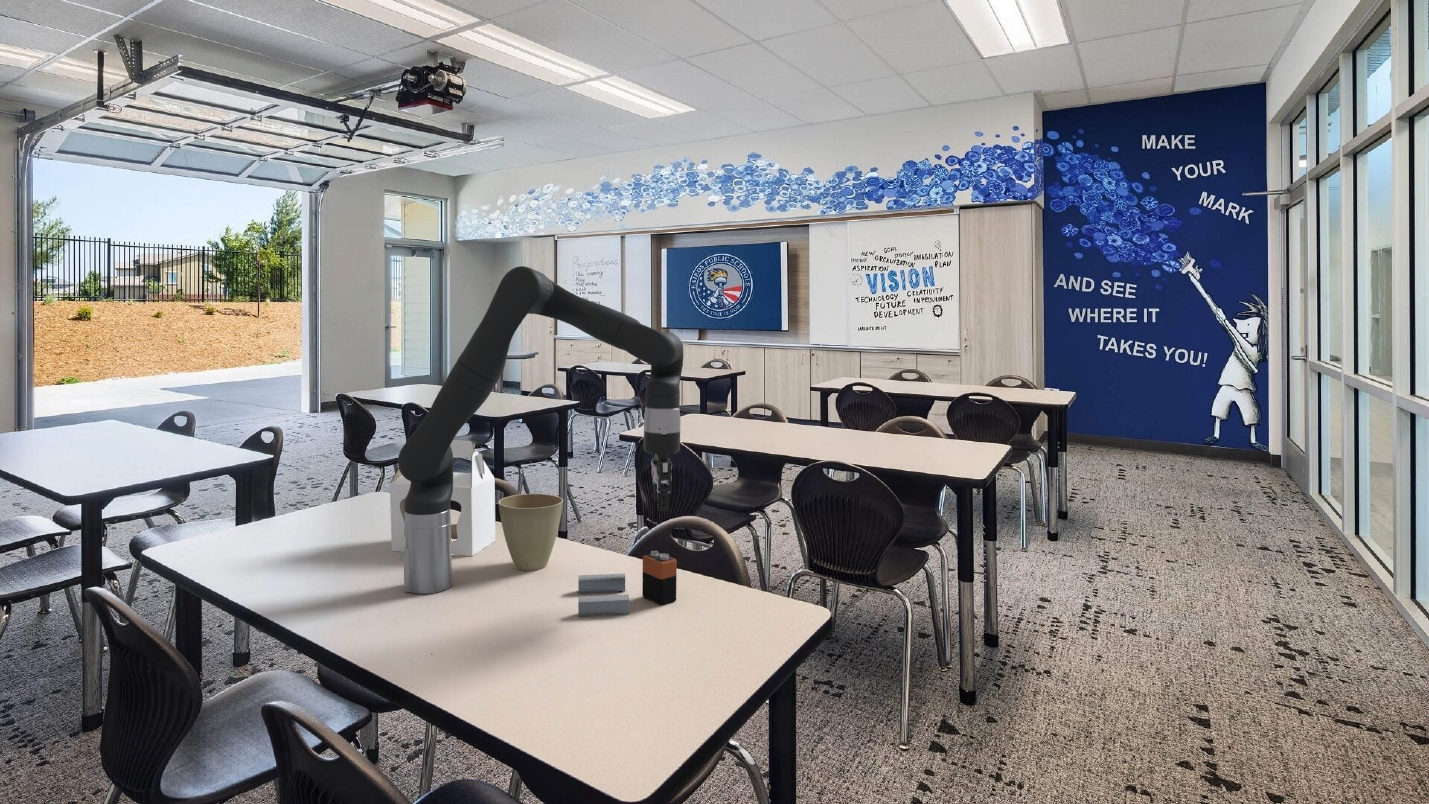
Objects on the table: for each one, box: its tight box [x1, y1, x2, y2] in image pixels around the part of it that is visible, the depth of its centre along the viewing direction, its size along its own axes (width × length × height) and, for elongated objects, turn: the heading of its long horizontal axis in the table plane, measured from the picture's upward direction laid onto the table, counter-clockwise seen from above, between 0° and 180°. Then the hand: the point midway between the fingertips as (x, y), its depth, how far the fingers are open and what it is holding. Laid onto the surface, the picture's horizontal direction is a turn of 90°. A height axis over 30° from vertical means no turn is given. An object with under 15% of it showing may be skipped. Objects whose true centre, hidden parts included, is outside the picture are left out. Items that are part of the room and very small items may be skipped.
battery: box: [641, 550, 678, 606], centre depth 159 cm, size 4×7×10 cm, turn 42°
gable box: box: [389, 439, 496, 557], centre depth 193 cm, size 22×13×28 cm, turn 81°
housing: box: [577, 573, 630, 618], centre depth 157 cm, size 10×15×3 cm, turn 10°
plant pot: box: [498, 493, 564, 571], centre depth 179 cm, size 15×15×16 cm
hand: (660, 505), depth 157 cm, fingers open, 8 cm apart
